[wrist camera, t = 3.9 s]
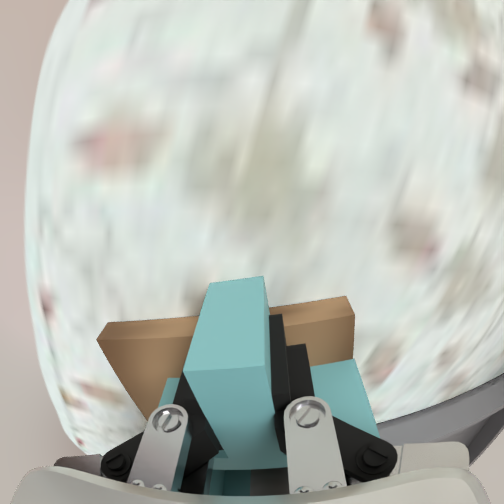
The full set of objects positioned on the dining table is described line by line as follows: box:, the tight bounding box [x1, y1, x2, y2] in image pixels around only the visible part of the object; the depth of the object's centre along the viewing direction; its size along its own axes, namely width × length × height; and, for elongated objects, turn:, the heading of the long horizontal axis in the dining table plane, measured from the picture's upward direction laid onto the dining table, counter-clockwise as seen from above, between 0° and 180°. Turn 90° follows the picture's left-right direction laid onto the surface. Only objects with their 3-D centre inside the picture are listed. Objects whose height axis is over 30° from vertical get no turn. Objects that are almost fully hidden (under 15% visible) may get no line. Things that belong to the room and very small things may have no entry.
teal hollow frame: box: [158, 276, 380, 496], centre depth 11 cm, size 9×14×4 cm, turn 10°
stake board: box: [96, 296, 355, 496], centre depth 10 cm, size 12×12×12 cm
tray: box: [376, 374, 504, 467], centre depth 18 cm, size 20×20×3 cm
